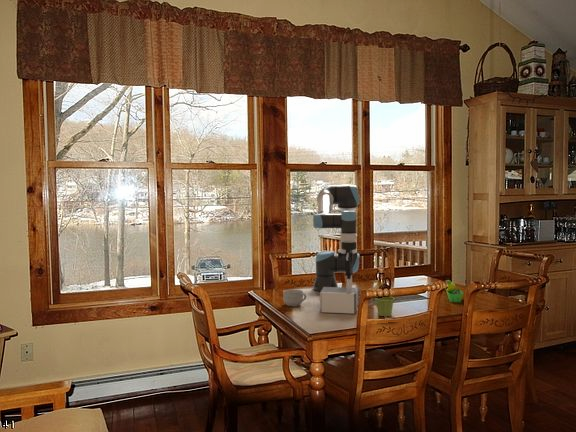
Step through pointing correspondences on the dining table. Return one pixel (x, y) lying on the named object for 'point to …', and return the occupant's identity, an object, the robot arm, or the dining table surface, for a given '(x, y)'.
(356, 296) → the box housing
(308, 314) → the dining table surface
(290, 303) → the teacup
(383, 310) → the plant pot
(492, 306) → the dining table surface
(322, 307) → the door
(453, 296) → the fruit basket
